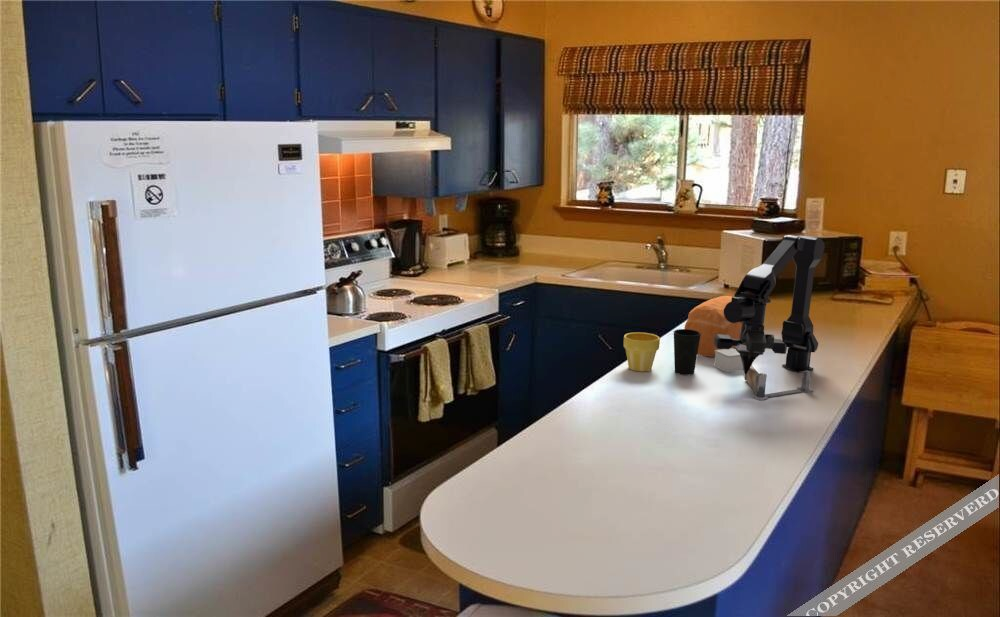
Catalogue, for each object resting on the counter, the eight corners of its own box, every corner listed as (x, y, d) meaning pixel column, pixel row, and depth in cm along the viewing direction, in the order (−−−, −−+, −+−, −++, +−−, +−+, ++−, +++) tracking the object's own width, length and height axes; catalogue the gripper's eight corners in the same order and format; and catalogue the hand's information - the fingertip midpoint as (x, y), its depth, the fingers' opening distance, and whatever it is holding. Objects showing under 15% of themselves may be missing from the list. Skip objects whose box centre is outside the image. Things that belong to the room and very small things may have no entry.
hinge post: (760, 394, 220) (763, 371, 219) (770, 399, 217) (772, 375, 216) (750, 396, 219) (752, 373, 217) (759, 400, 216) (762, 377, 214)
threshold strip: (796, 390, 225) (797, 389, 225) (802, 392, 223) (802, 391, 223) (762, 395, 220) (762, 394, 219) (767, 398, 218) (767, 397, 218)
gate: (762, 394, 219) (763, 377, 218) (756, 394, 219) (757, 377, 218) (749, 378, 232) (751, 363, 231) (744, 378, 232) (745, 363, 231)
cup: (698, 377, 234) (701, 336, 232) (670, 375, 236) (673, 334, 233) (697, 369, 242) (700, 330, 239) (671, 367, 243) (673, 328, 240)
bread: (679, 351, 260) (682, 303, 256) (710, 335, 280) (714, 290, 277) (721, 360, 252) (725, 310, 248) (750, 342, 273) (754, 295, 269)
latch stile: (804, 387, 227) (806, 369, 225) (813, 391, 224) (815, 372, 223) (796, 389, 225) (798, 370, 224) (804, 392, 223) (806, 373, 221)
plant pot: (636, 361, 249) (637, 330, 246) (664, 368, 242) (666, 336, 239) (615, 367, 242) (616, 335, 239) (643, 376, 234) (645, 343, 232)
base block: (730, 364, 248) (732, 348, 247) (744, 370, 242) (746, 353, 241) (713, 366, 245) (714, 350, 244) (727, 372, 240) (728, 356, 239)
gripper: (725, 323, 217) (717, 379, 220) (796, 329, 216) (787, 385, 219) (716, 313, 227) (709, 367, 231) (784, 319, 227) (776, 373, 230)
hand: (745, 373), depth 227 cm, fingers closed
